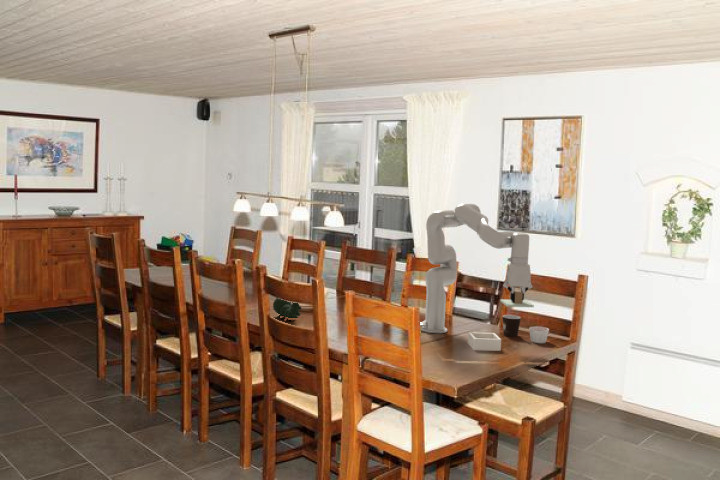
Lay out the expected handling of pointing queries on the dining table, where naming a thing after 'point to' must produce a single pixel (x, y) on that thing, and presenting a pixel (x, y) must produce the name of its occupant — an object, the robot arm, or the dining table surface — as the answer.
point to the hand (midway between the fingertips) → (516, 301)
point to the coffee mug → (511, 325)
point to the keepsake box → (484, 341)
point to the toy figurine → (286, 308)
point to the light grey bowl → (538, 334)
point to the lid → (517, 301)
